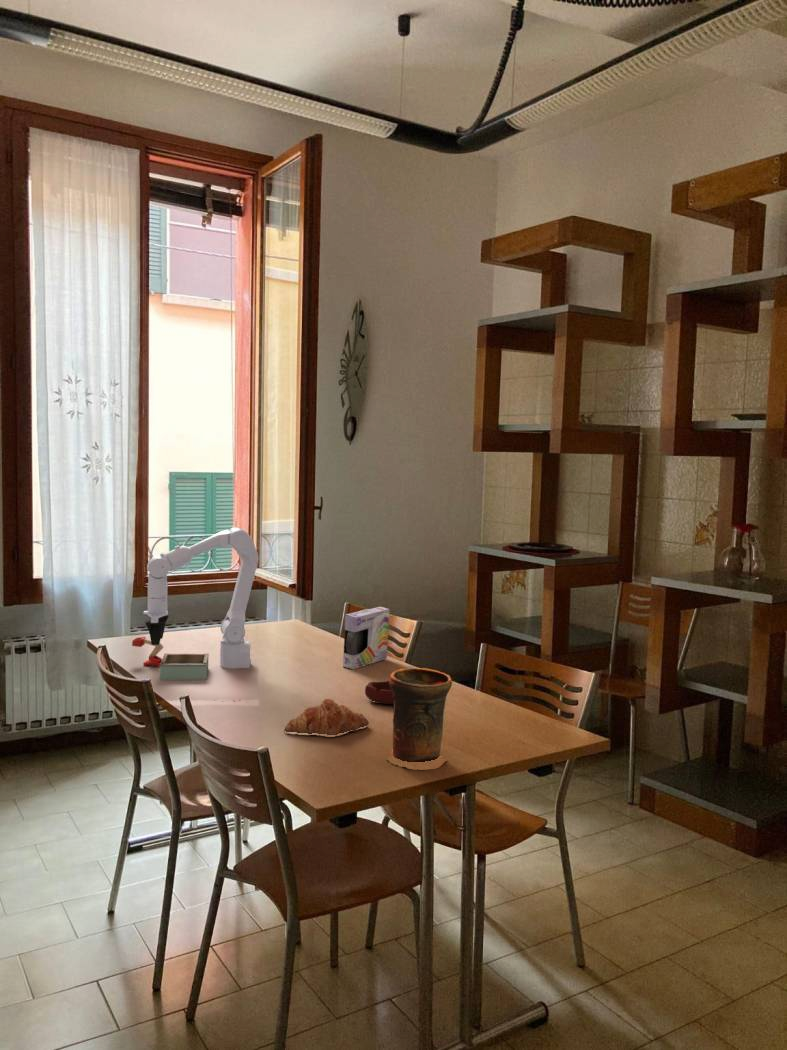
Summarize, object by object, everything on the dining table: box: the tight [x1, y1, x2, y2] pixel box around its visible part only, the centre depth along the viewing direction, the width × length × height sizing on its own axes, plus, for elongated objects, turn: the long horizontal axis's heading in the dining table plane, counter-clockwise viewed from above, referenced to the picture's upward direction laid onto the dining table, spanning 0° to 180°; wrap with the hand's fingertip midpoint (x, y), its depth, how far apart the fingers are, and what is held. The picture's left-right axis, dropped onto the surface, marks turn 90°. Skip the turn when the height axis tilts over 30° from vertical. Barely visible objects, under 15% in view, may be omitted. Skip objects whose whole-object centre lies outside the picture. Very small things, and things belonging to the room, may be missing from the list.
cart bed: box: [161, 653, 209, 678], centre depth 257 cm, size 13×11×6 cm
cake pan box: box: [342, 606, 390, 670], centre depth 281 cm, size 19×5×18 cm, turn 143°
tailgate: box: [159, 664, 207, 681], centre depth 251 cm, size 13×1×4 cm, turn 99°
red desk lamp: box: [131, 636, 164, 668], centre depth 264 cm, size 3×14×10 cm, turn 84°
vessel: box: [388, 667, 453, 762], centre depth 198 cm, size 14×14×20 cm
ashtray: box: [364, 675, 394, 705], centre depth 244 cm, size 18×16×5 cm
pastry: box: [284, 698, 370, 735], centre depth 216 cm, size 17×15×8 cm
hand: (157, 641), depth 260 cm, fingers open, 7 cm apart
